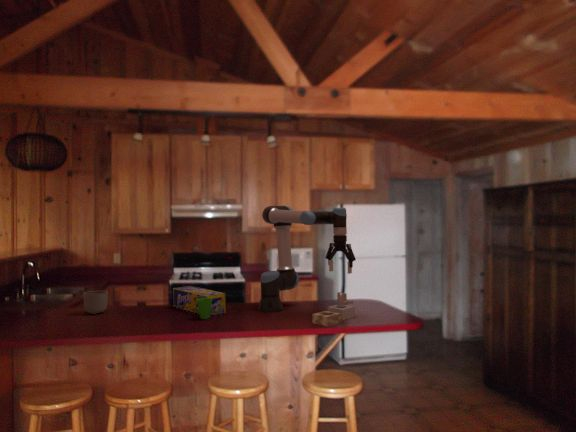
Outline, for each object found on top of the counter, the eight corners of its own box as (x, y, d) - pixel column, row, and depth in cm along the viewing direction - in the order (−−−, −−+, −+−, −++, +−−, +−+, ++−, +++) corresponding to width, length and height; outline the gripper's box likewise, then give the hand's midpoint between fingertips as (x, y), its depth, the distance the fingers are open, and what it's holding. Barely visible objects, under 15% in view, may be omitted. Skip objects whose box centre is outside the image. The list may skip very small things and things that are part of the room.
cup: (215, 317, 257) (215, 298, 257) (206, 321, 249) (206, 301, 249) (202, 316, 261) (202, 297, 261) (193, 319, 252) (193, 300, 252)
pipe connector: (353, 312, 266) (352, 295, 266) (336, 311, 268) (336, 294, 268) (353, 308, 276) (353, 292, 276) (337, 308, 278) (337, 292, 278)
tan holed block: (327, 317, 253) (327, 307, 253) (340, 314, 260) (339, 304, 260) (342, 320, 245) (342, 309, 245) (355, 317, 252) (354, 306, 252)
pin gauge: (340, 316, 255) (340, 291, 255) (346, 317, 252) (345, 292, 252) (336, 317, 253) (335, 292, 253) (341, 318, 250) (341, 293, 250)
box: (172, 307, 288) (171, 287, 288) (191, 304, 298) (190, 285, 298) (206, 317, 259) (206, 295, 259) (226, 313, 268) (226, 292, 268)
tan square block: (312, 323, 240) (312, 313, 240) (326, 319, 247) (326, 310, 247) (327, 326, 232) (327, 317, 232) (341, 323, 239) (341, 313, 239)
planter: (112, 311, 279) (112, 290, 279) (99, 316, 265) (99, 294, 265) (92, 310, 282) (92, 290, 281) (78, 315, 268) (78, 294, 268)
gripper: (319, 234, 259) (319, 271, 259) (353, 235, 241) (353, 275, 241) (327, 234, 264) (328, 269, 264) (361, 235, 246) (362, 273, 246)
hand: (340, 272), depth 253 cm, fingers open, 13 cm apart
